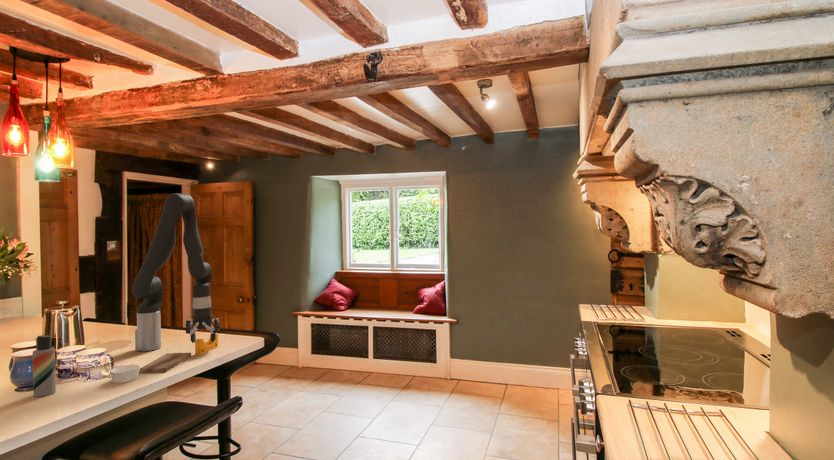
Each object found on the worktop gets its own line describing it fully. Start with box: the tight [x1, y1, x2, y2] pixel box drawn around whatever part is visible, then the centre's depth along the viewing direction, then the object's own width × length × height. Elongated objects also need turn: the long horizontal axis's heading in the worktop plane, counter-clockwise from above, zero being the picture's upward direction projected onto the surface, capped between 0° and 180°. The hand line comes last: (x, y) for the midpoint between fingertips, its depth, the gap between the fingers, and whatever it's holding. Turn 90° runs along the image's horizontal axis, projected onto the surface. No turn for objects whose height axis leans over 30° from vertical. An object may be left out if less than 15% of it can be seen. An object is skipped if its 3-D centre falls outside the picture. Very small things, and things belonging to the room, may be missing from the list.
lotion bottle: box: [32, 334, 57, 398], centre depth 144 cm, size 6×6×20 cm
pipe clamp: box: [194, 332, 219, 355], centre depth 193 cm, size 12×4×6 cm, turn 170°
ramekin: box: [110, 363, 140, 384], centre depth 157 cm, size 9×9×4 cm
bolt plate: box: [139, 352, 192, 374], centre depth 174 cm, size 10×20×2 cm, turn 3°
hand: (203, 341), depth 193 cm, fingers open, 8 cm apart
